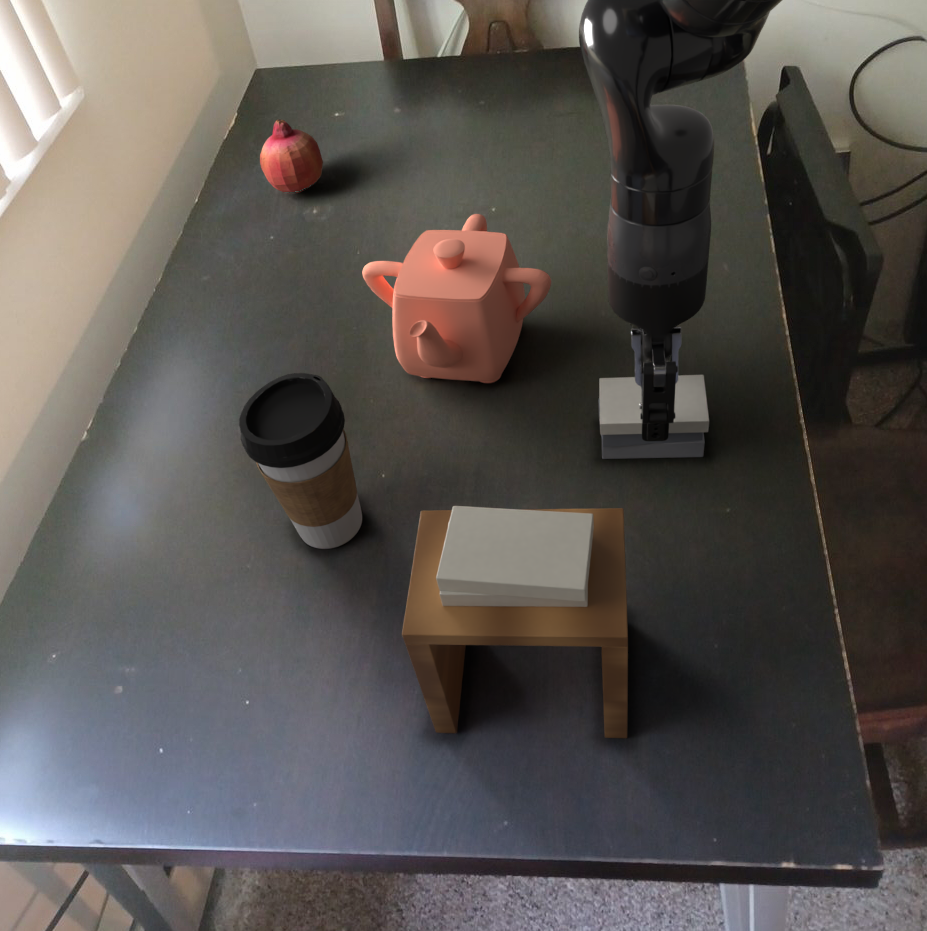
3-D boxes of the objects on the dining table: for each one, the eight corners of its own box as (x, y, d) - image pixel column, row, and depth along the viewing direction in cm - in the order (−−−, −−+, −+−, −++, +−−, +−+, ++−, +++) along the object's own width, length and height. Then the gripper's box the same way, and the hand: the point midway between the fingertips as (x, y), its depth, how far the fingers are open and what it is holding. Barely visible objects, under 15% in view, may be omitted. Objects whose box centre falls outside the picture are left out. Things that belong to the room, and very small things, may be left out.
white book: (702, 385, 82) (703, 374, 81) (708, 432, 78) (709, 421, 77) (599, 389, 83) (599, 377, 82) (600, 435, 79) (599, 424, 78)
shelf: (623, 618, 71) (623, 507, 61) (627, 738, 65) (627, 637, 54) (449, 617, 74) (420, 510, 63) (435, 733, 67) (401, 634, 57)
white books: (594, 529, 60) (593, 503, 58) (594, 614, 56) (593, 589, 54) (451, 531, 62) (445, 505, 60) (441, 613, 57) (434, 589, 55)
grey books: (699, 420, 84) (701, 389, 81) (703, 460, 81) (706, 429, 78) (599, 423, 86) (598, 393, 83) (599, 462, 82) (598, 432, 79)
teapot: (487, 286, 102) (472, 182, 92) (572, 357, 92) (566, 249, 83) (359, 352, 97) (329, 249, 88) (434, 433, 88) (411, 328, 78)
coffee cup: (395, 512, 82) (359, 393, 71) (330, 576, 78) (281, 461, 67) (331, 474, 86) (287, 356, 75) (266, 533, 82) (210, 418, 71)
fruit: (262, 207, 120) (238, 137, 112) (282, 174, 125) (261, 105, 117) (318, 207, 118) (298, 136, 110) (337, 174, 123) (319, 104, 115)
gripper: (718, 309, 63) (702, 462, 75) (701, 194, 72) (690, 347, 84) (608, 314, 64) (610, 464, 76) (606, 200, 73) (608, 350, 85)
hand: (652, 402), depth 80 cm, fingers open, 8 cm apart
